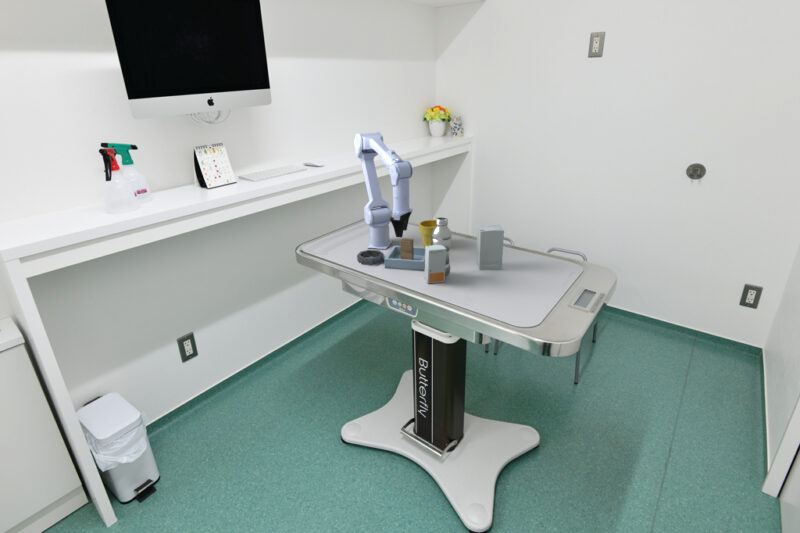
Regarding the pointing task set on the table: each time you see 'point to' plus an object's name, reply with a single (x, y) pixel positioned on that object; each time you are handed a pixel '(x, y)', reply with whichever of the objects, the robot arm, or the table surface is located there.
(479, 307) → the table surface
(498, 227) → the skincare box
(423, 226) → the plant pot
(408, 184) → the robot arm
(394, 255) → the bin
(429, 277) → the skincare box
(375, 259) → the collar
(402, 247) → the peg
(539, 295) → the table surface
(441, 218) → the silver metal bottle
